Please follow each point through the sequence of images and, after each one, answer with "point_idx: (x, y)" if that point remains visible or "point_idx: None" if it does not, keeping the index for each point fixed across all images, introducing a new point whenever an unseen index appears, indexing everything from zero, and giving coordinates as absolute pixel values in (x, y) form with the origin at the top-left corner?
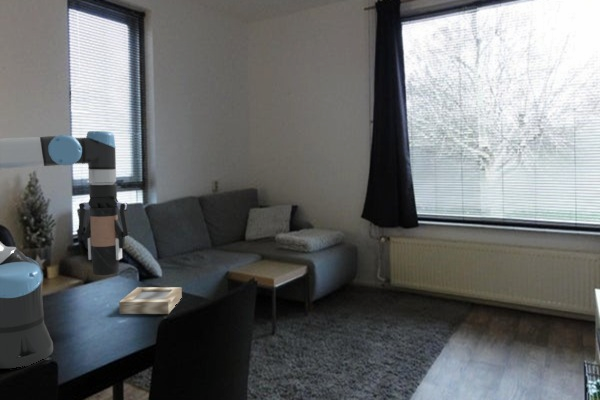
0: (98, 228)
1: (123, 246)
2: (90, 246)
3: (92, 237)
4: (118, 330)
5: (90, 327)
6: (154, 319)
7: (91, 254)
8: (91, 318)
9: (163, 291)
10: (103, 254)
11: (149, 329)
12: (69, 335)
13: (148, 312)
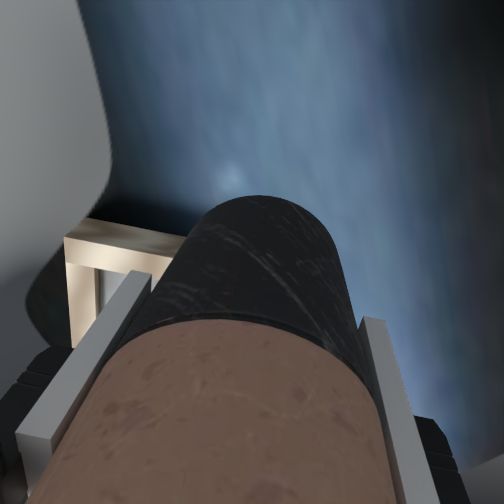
0: None
1: (37, 365)
2: (386, 412)
3: (366, 480)
4: (219, 80)
5: (333, 134)
6: (118, 173)
7: (366, 356)
8: (346, 225)
9: None
10: (226, 266)
11: (103, 70)
12: (401, 57)
13: (154, 233)
